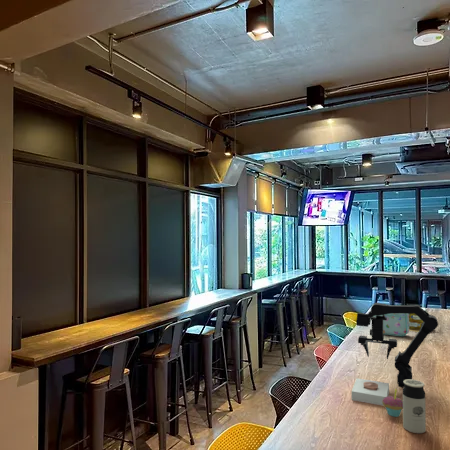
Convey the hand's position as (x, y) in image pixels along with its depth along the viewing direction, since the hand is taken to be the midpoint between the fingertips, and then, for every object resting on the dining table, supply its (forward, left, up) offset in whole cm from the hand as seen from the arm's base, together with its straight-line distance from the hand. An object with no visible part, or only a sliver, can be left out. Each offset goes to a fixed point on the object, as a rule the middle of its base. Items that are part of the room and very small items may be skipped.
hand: (377, 357), depth 203 cm
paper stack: (-19, -136, -12) cm, 138 cm away
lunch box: (0, -106, -12) cm, 107 cm away
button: (+1, +21, -11) cm, 24 cm away
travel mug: (-17, +47, -12) cm, 51 cm away
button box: (+1, +21, -12) cm, 24 cm away
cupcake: (-9, +37, -12) cm, 40 cm away
